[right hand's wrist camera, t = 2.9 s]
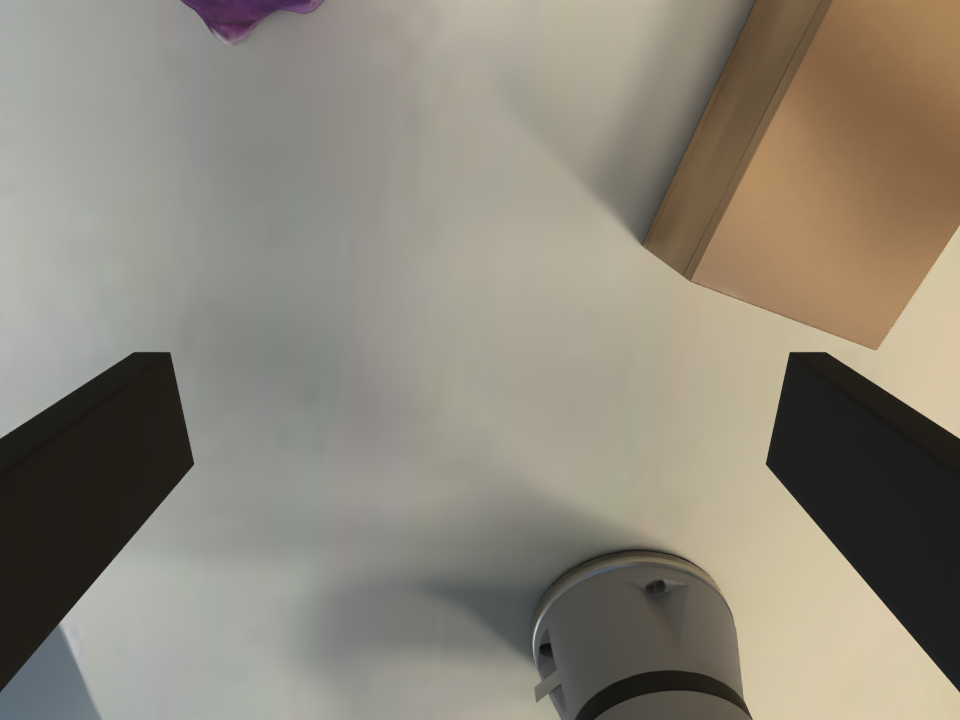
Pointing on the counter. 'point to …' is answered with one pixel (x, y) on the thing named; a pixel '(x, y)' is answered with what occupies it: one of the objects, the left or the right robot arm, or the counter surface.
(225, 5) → the figurine
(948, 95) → the cabinet
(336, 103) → the counter surface
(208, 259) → the counter surface
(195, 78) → the counter surface
